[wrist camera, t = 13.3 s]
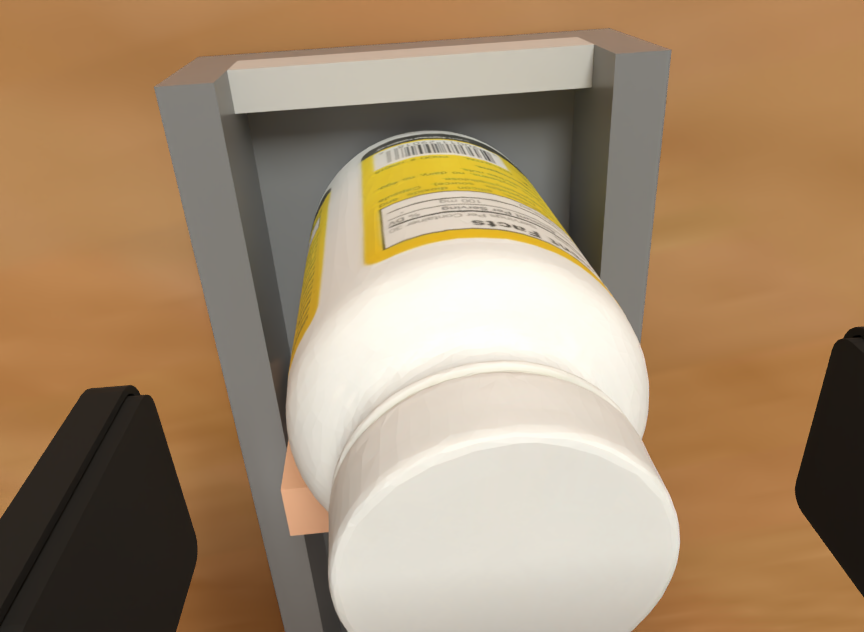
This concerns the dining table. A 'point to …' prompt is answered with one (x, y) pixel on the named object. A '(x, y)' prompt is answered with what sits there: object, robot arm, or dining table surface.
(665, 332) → the dining table surface
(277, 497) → the pusher lane
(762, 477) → the dining table surface
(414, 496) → the supplement bottle
